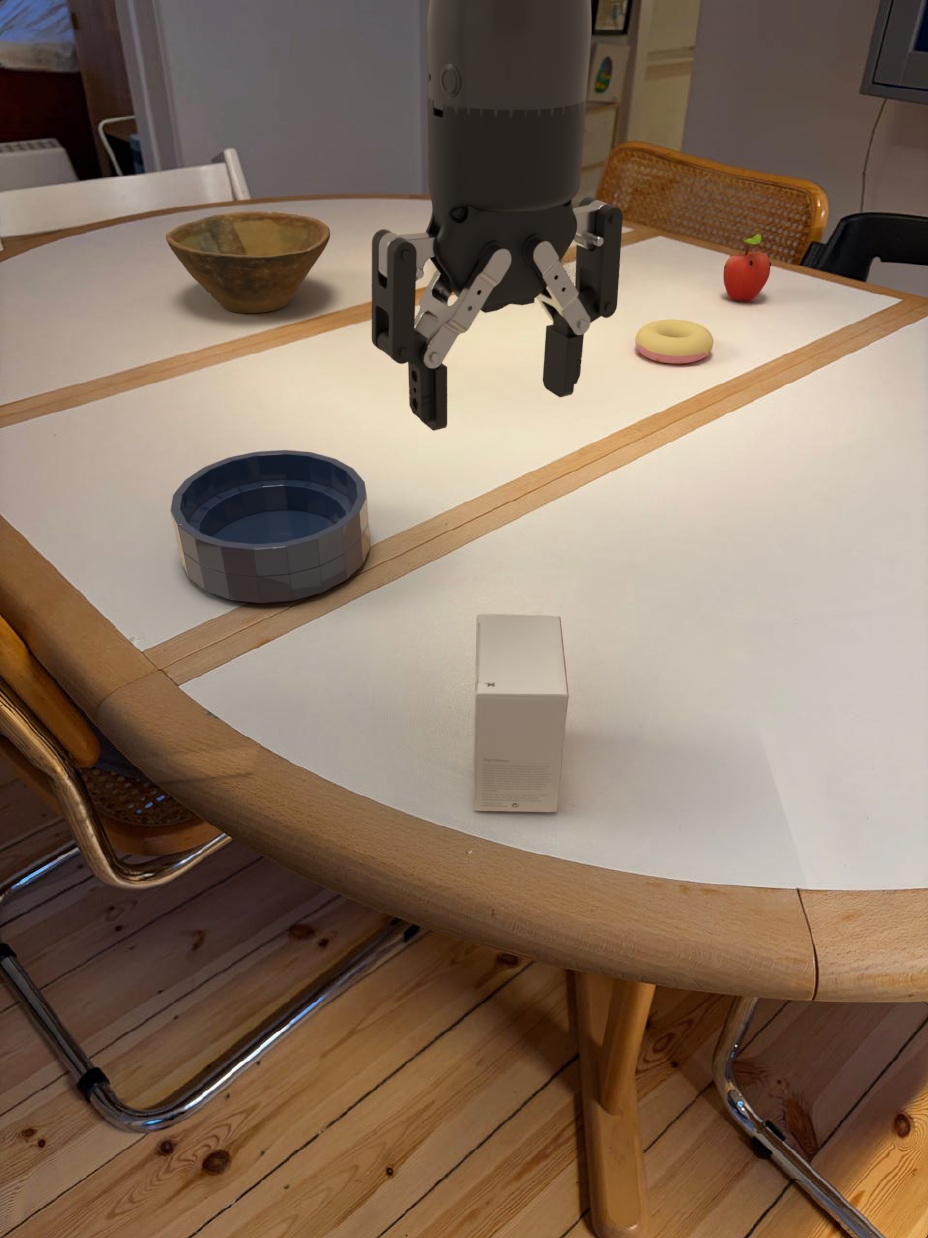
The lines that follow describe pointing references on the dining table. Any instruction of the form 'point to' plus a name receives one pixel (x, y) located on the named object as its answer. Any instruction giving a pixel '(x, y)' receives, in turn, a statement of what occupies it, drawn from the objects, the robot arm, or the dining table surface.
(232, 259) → the bowl
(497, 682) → the small box
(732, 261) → the apple
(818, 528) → the dining table surface
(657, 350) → the donut
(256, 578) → the glazed bowl
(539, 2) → the robot arm
